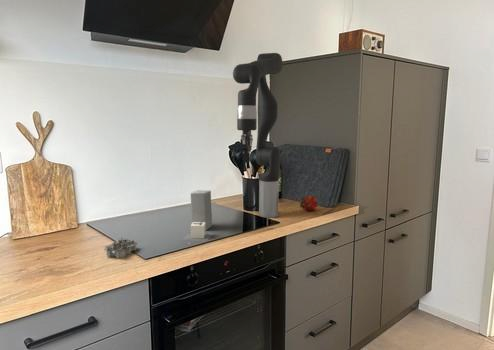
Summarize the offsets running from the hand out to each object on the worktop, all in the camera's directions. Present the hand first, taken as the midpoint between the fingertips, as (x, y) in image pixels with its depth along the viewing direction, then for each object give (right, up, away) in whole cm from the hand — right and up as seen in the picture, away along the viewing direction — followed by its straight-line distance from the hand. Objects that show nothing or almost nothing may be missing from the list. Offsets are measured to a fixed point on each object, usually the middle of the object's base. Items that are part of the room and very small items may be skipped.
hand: (246, 162), depth 142 cm
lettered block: (-19, -29, +1) cm, 35 cm away
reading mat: (-19, -29, +1) cm, 35 cm away
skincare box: (-19, -28, +13) cm, 36 cm away
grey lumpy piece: (-43, -32, -17) cm, 56 cm away
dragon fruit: (+32, -23, +44) cm, 59 cm away
